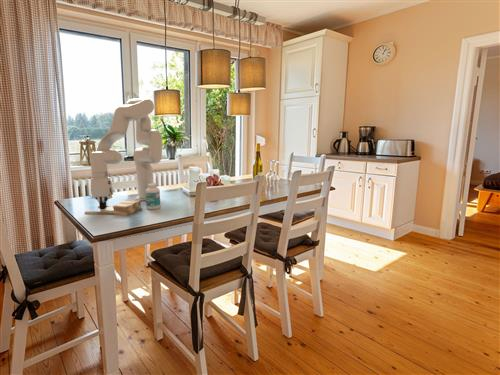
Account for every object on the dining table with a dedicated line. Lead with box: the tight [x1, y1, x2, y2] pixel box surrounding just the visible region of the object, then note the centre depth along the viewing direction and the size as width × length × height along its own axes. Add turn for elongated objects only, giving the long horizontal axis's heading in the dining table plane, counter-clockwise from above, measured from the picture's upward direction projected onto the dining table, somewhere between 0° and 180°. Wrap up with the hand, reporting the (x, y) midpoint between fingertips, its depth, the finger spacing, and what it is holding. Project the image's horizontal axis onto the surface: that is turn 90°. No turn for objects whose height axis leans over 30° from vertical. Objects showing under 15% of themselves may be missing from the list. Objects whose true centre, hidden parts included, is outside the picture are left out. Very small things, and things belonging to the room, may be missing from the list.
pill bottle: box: [145, 182, 161, 210], centre depth 168 cm, size 8×7×14 cm
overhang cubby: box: [84, 199, 142, 216], centre depth 163 cm, size 14×24×4 cm, turn 84°
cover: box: [99, 205, 114, 212], centre depth 163 cm, size 9×15×2 cm, turn 84°
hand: (103, 209), depth 164 cm, fingers closed
